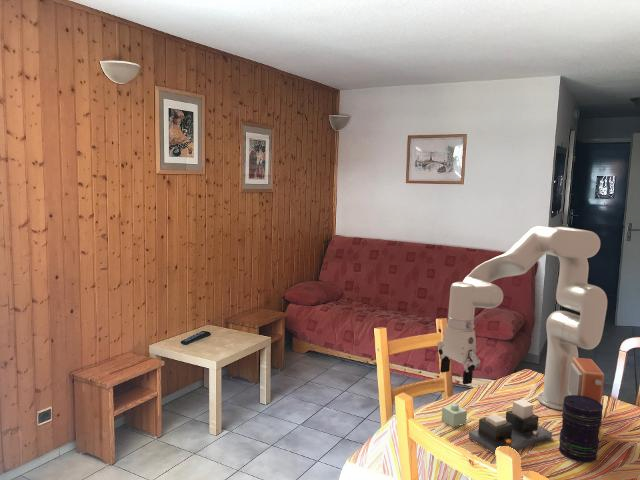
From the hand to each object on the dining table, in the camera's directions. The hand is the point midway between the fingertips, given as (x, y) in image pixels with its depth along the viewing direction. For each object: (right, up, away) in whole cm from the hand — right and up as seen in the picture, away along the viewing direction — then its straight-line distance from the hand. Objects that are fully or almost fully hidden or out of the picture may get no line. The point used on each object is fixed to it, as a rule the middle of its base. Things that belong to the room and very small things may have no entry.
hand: (455, 377), depth 162 cm
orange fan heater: (+37, -16, -2) cm, 40 cm away
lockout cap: (0, -14, +2) cm, 15 cm away
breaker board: (+14, -16, -7) cm, 23 cm away
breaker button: (+19, -11, -4) cm, 22 cm away
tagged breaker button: (+9, -14, -9) cm, 19 cm away
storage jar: (+31, -18, -14) cm, 38 cm away
